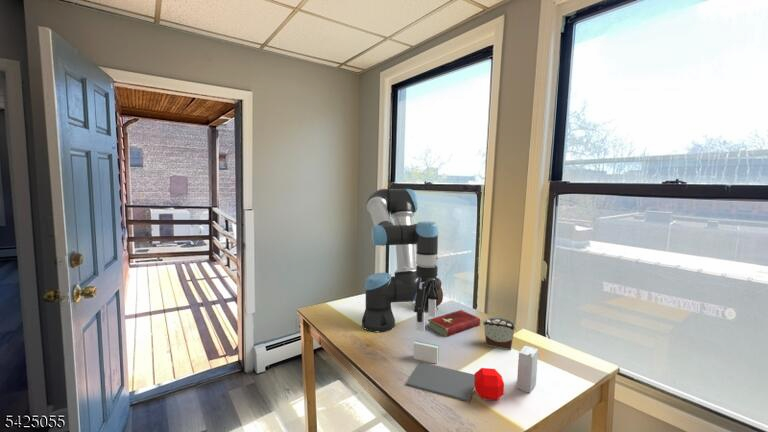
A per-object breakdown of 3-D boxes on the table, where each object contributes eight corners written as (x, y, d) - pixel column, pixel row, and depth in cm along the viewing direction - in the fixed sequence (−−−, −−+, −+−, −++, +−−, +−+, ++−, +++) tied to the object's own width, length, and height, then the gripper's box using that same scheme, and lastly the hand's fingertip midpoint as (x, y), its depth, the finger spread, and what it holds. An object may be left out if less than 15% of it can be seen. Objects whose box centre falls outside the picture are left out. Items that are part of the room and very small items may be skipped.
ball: (499, 388, 103) (500, 365, 103) (504, 405, 96) (505, 380, 95) (473, 386, 105) (474, 363, 104) (476, 403, 97) (476, 378, 96)
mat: (406, 384, 106) (406, 383, 106) (420, 363, 118) (420, 361, 118) (469, 402, 97) (469, 400, 97) (477, 377, 110) (477, 375, 110)
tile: (413, 358, 122) (413, 342, 121) (415, 355, 124) (415, 340, 123) (437, 364, 118) (437, 347, 118) (438, 361, 120) (439, 345, 120)
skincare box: (522, 379, 108) (523, 344, 107) (537, 385, 105) (538, 348, 104) (516, 388, 104) (517, 351, 102) (531, 394, 101) (532, 356, 99)
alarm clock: (413, 307, 173) (413, 269, 171) (422, 303, 178) (423, 267, 176) (434, 315, 162) (435, 275, 160) (444, 311, 167) (444, 272, 165)
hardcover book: (480, 326, 150) (480, 317, 150) (446, 338, 139) (446, 328, 138) (461, 317, 160) (461, 309, 160) (427, 328, 149) (428, 318, 148)
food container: (516, 343, 133) (516, 319, 132) (515, 350, 127) (516, 325, 126) (484, 337, 138) (484, 314, 137) (482, 344, 132) (482, 320, 131)
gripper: (426, 274, 105) (425, 339, 107) (446, 259, 127) (445, 312, 129) (404, 272, 108) (404, 334, 110) (427, 257, 131) (427, 309, 132)
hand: (426, 322), depth 119 cm, fingers open, 13 cm apart
